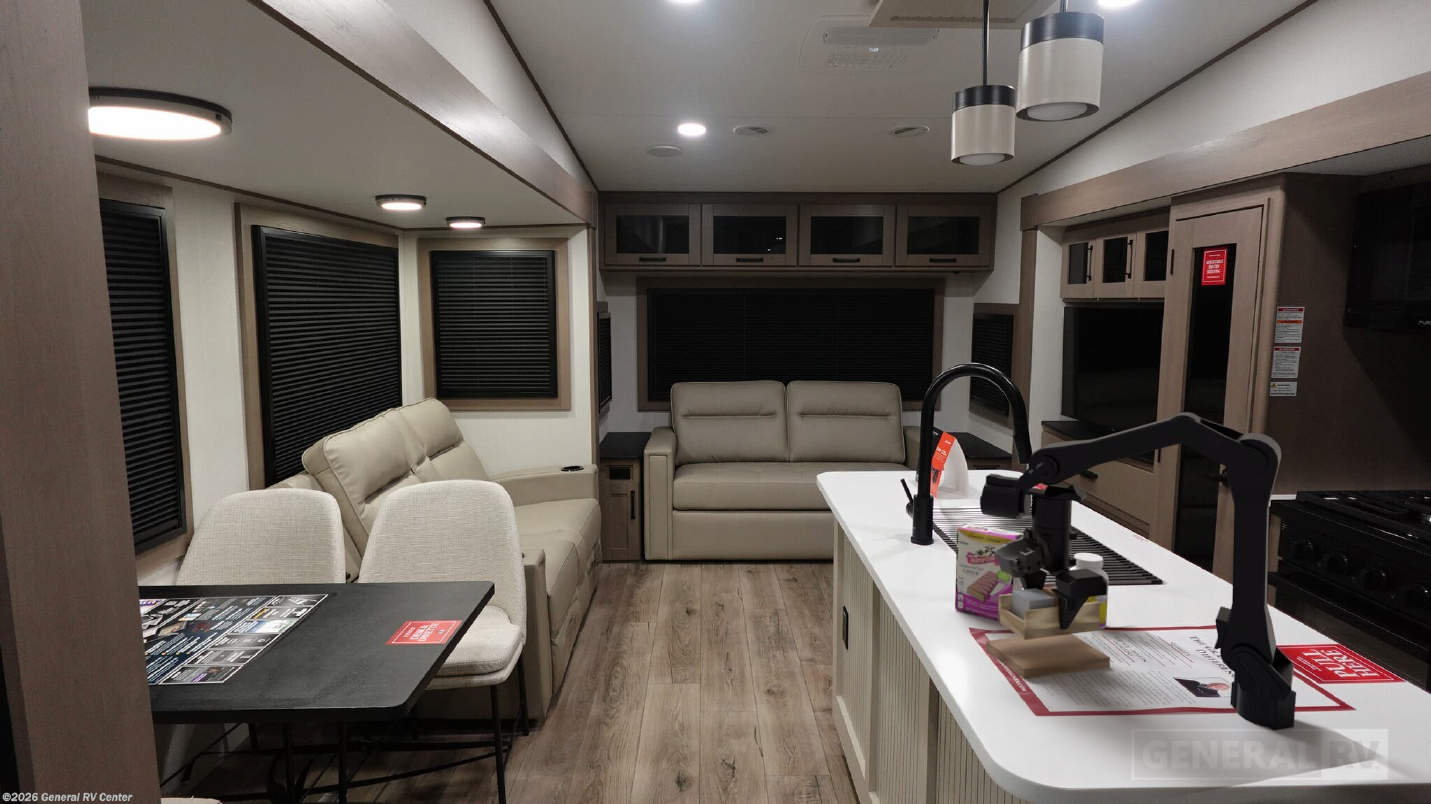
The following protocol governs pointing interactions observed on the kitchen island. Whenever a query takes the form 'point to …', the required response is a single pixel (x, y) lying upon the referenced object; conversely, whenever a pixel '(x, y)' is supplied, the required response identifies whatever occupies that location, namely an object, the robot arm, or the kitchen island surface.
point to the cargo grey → (1030, 601)
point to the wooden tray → (1047, 620)
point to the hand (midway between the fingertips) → (1048, 619)
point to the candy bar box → (982, 569)
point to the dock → (1047, 655)
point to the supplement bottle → (1095, 565)
